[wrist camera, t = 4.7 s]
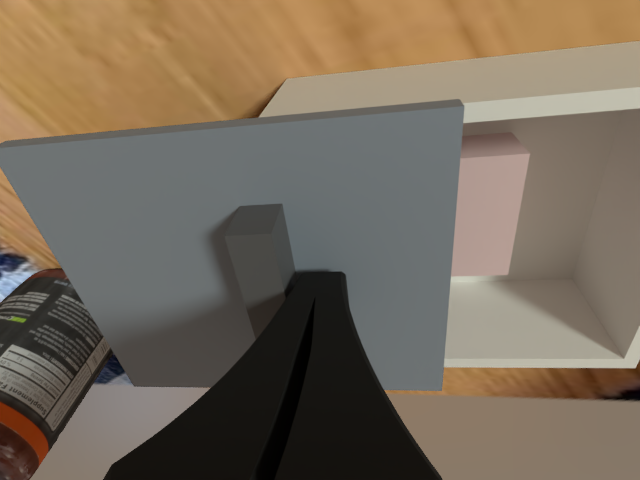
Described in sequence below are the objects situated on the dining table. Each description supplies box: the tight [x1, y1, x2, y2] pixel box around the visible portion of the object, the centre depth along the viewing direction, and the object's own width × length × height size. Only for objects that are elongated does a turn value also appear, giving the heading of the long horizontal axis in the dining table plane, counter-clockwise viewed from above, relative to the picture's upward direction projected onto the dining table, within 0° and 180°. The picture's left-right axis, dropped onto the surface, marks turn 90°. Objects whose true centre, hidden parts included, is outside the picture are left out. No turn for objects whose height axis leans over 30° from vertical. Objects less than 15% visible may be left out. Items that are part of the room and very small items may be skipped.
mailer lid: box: [0, 99, 464, 391], centre depth 12 cm, size 12×10×2 cm
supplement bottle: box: [0, 269, 113, 480], centre depth 18 cm, size 6×6×11 cm
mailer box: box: [258, 41, 640, 368], centre depth 14 cm, size 12×10×5 cm
